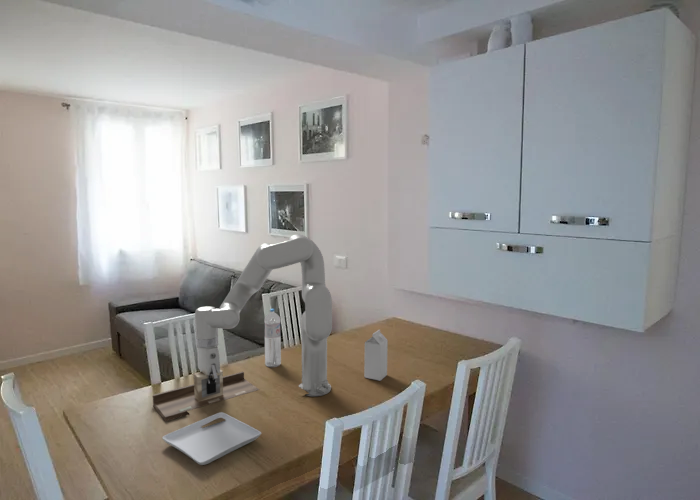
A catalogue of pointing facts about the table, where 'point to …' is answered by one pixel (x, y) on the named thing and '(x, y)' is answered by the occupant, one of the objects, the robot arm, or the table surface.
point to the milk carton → (376, 357)
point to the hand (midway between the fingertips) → (208, 390)
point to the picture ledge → (184, 399)
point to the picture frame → (201, 386)
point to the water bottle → (272, 340)
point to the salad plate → (211, 438)
